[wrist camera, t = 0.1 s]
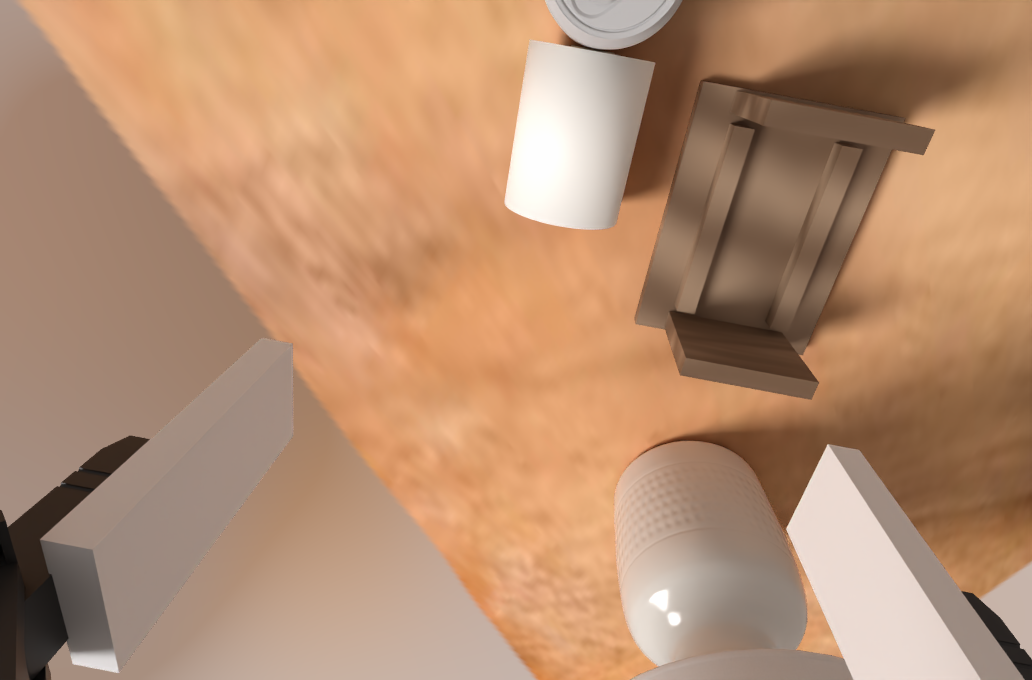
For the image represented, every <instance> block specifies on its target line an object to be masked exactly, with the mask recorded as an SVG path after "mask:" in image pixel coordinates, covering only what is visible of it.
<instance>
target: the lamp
mask: <svg viewBox="0 0 1032 680" xmlns="http://www.w3.org/2000/svg"><path fill="white" fill-rule="evenodd" d="M614 524H615V544H616V563H617V572H618V581H619V588H620V594H621V601H622V607H623V612H624V616H625V620H626V623H627V626H628V628H629V631H630V633H631V635H632V637H633V639H634V641H635V643H636V644H637V646H638V647H639V649H640V650H641V651H642V653H643V654H644V655H645V656H646V657H647V658H648V659H649V660H650V661H652V662H653V663H654V664H656V665H657V666H658V667H657V668H654V669H652V670H649V671H647V672H644V673H642V674H639V675H637V676H636V677H634V678H632V679H630V680H853V678H852V675H851V673H850V671H849V669H848V666H847V664H846V662H845V660H844V659H843V658H839V657H836V656H832V655H827V654H820V653H813V652H807V651H800V650H796V649H797V647H798V646H799V644H800V642H801V640H802V638H803V636H804V634H805V630H806V625H807V599H806V594H805V590H804V585H803V582H802V579H801V575H800V573H799V570H798V567H797V564H796V562H795V559H794V556H793V554H792V551H791V549H790V546H789V544H788V541H787V539H786V536H785V534H784V532H783V530H782V528H781V526H780V524H779V522H778V520H777V517H776V515H775V513H774V511H773V509H772V507H771V505H770V503H769V501H768V498H767V496H766V494H765V492H764V490H763V488H762V486H761V484H760V482H759V480H758V478H757V476H756V474H755V472H754V471H753V470H752V469H751V467H750V466H749V465H748V463H747V462H746V461H744V460H743V459H742V458H741V457H740V456H739V455H737V454H736V453H734V452H732V451H731V450H729V449H726V448H724V447H722V446H719V445H716V444H712V443H708V442H701V441H678V442H671V443H667V444H663V445H660V446H658V447H655V448H653V449H651V450H649V451H647V452H645V453H643V454H642V455H640V456H639V457H638V458H636V459H635V460H634V461H633V462H632V463H631V464H630V465H629V466H628V467H627V468H626V469H625V470H624V472H623V473H622V475H621V476H620V479H619V481H618V483H617V486H616V490H615V495H614Z"/></svg>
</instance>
